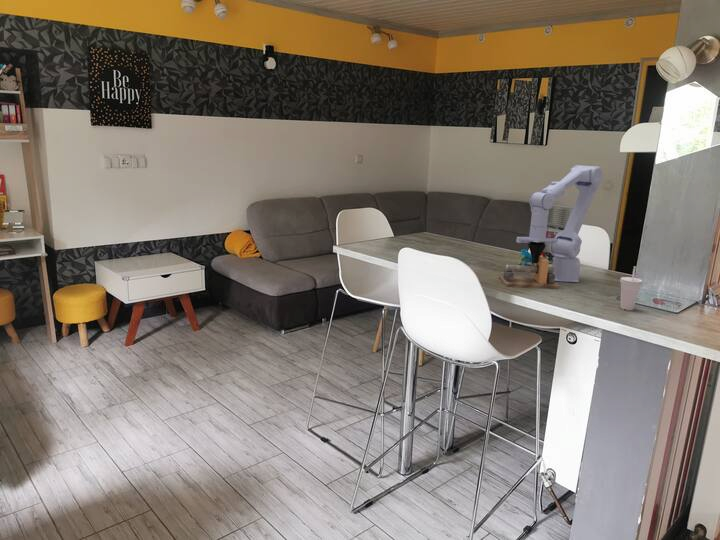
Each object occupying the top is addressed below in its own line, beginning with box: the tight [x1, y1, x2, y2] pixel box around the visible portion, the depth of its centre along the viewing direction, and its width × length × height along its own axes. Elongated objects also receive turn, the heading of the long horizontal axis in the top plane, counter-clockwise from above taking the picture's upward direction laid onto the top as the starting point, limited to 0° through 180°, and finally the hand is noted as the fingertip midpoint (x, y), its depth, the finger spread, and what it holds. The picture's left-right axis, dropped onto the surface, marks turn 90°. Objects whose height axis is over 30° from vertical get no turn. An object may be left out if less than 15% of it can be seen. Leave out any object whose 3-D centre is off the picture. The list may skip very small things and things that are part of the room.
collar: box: [532, 256, 550, 284], centre depth 204 cm, size 2×9×9 cm, turn 178°
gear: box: [517, 248, 534, 266], centre depth 235 cm, size 11×6×10 cm
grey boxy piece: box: [540, 204, 574, 265], centre depth 241 cm, size 14×6×25 cm, turn 37°
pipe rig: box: [498, 264, 560, 290], centre depth 205 cm, size 19×12×7 cm, turn 88°
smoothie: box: [619, 265, 643, 311], centre depth 176 cm, size 6×6×14 cm
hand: (534, 262), depth 204 cm, fingers closed
